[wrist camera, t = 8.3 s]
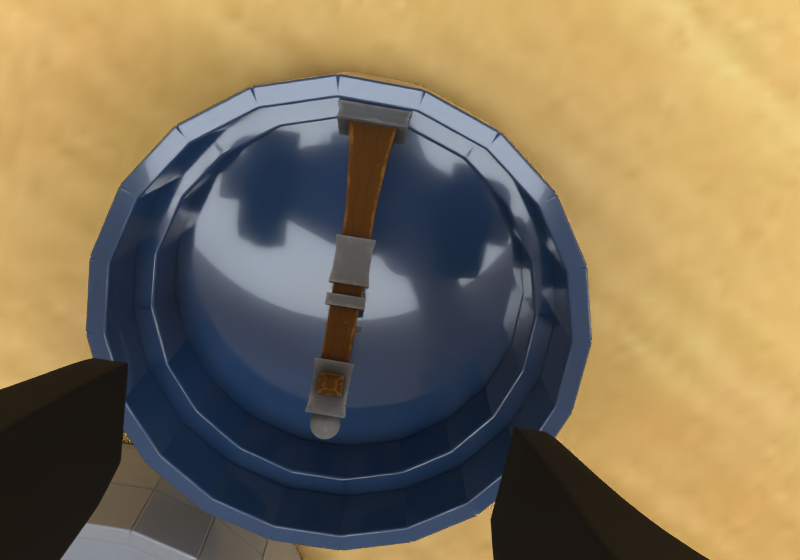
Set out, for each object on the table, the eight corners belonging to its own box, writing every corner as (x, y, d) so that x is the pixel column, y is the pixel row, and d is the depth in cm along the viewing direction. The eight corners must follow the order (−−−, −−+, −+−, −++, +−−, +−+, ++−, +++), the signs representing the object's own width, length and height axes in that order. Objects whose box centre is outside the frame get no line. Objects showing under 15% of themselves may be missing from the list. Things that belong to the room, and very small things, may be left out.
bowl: (601, 117, 19) (651, 131, 16) (505, 493, 23) (526, 579, 19) (161, 35, 19) (100, 29, 15) (131, 434, 22) (75, 512, 18)
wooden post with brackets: (298, 413, 21) (281, 439, 16) (342, 144, 21) (337, 96, 17) (360, 422, 21) (360, 451, 16) (402, 154, 21) (413, 109, 17)
